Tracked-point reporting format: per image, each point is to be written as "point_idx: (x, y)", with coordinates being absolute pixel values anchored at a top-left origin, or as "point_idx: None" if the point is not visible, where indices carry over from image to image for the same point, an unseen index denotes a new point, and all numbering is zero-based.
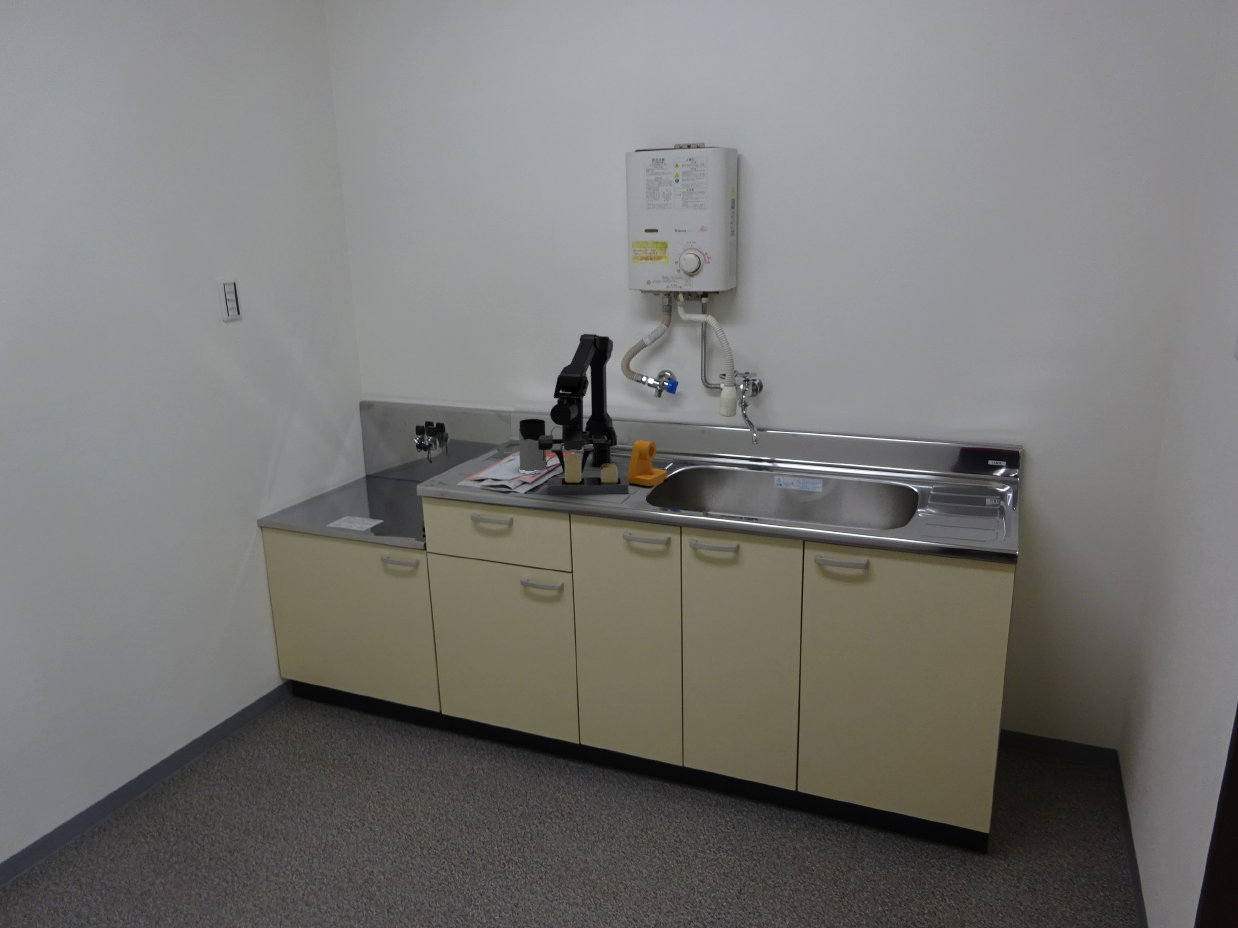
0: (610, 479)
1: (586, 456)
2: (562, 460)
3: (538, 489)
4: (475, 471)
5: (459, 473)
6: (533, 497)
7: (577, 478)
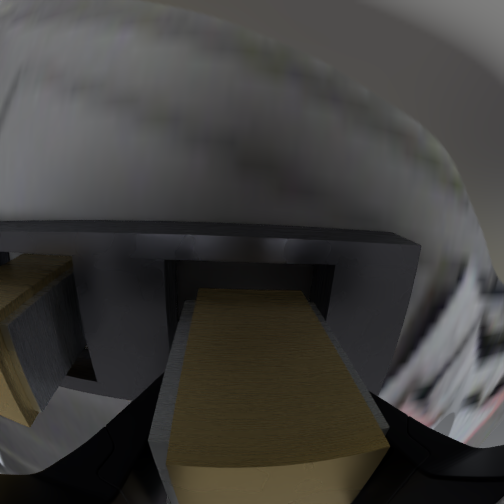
0: (1, 280)
1: (71, 473)
2: (397, 433)
3: (410, 322)
4: (474, 438)
5: (500, 417)
6: (449, 198)
7: (215, 304)
